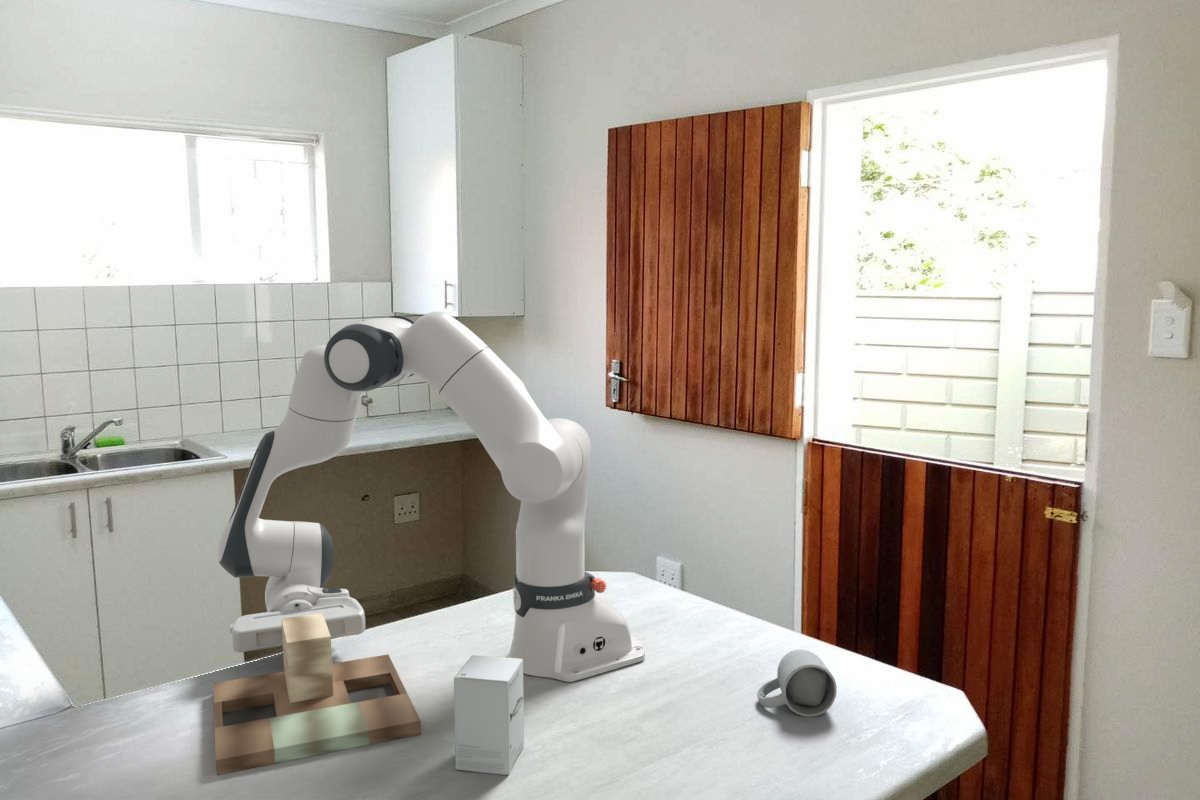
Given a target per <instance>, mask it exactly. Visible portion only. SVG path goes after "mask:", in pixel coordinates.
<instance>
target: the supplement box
mask: <svg viewBox="0 0 1200 800" xmlns="http://www.w3.org/2000/svg"><path fill="white" fill-rule="evenodd" d="M524 694H525V693H524V673H523V659H518V658H508V657H503V656H491V655H474V654H473V655H471V656H470V657H469V659H468V660H467V661H466V662H465V663H464V665H463V666H461V669H460V670H459V671H458V672H457V673H456V675H455V676H453V697H454V699H453V701H454V702H453V704H454V706H453V707H454V742H455V743H454V752H455V759H454V760H455V770H459V771H466V772H475V773H482V774H492V775H500V776H509V775H510V773H511V771H512V768H513V766H514V764H515V763H516V761H517V759H518V757H519V756H520V753H521V752H522V751H523V749H524V747H525V736H524V735H525V728H524V727H525V725H524V724H525V722H524V721H525V719H524V716H525V711H524V708H525V707H524V706H525V705H524V703H525V702H524Z"/></svg>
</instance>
